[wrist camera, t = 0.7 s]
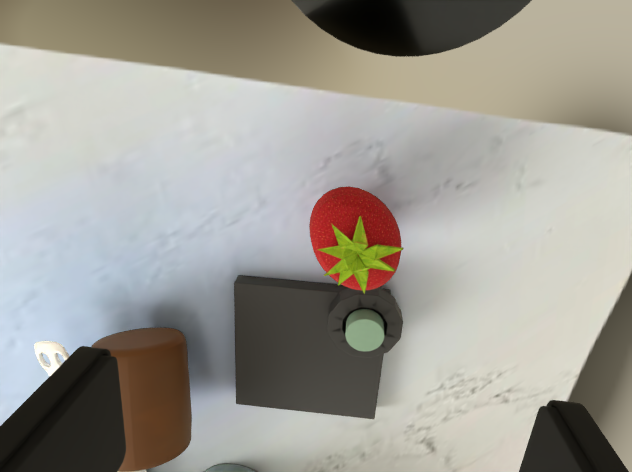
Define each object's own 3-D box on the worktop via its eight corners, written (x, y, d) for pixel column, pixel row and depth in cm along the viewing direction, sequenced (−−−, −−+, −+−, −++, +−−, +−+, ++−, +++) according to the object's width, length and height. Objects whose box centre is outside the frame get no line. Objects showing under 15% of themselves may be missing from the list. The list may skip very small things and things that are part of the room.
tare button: (347, 306, 35) (347, 317, 34) (385, 310, 35) (386, 321, 34) (344, 338, 36) (343, 349, 35) (381, 341, 36) (382, 353, 35)
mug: (151, 314, 46) (157, 403, 46) (68, 329, 41) (76, 428, 42) (201, 336, 36) (207, 448, 37) (100, 359, 32) (110, 487, 32)
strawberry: (371, 153, 33) (376, 192, 24) (409, 238, 35) (426, 304, 26) (300, 186, 35) (280, 234, 25) (342, 265, 37) (336, 336, 28)
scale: (238, 264, 38) (228, 281, 35) (403, 280, 37) (406, 298, 34) (239, 393, 43) (231, 417, 40) (383, 409, 42) (385, 434, 40)
